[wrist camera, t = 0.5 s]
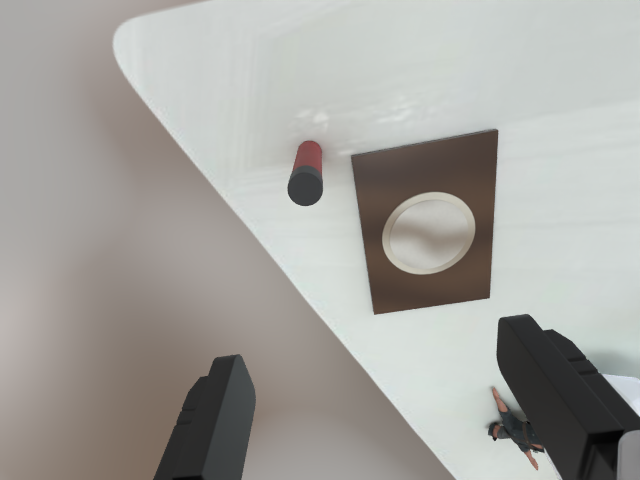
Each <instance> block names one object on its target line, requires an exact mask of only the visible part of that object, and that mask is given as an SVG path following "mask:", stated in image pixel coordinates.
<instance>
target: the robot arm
mask: <svg viewBox="0 0 640 480" xmlns="http://www.w3.org/2000/svg"><path fill="white" fill-rule="evenodd" d="M497 362H498V366H499V369H500V371H501V374H502V376H503V378H504V379H505V381H506V383H507V384H508V386H509V388H510V390H511V391H512V393H513V395H514V397H515V398H516V400H517V402H518V403H519V405H520V407H521V409H522V410H523V412H524V414H525V416H526V417H527V419H528V421H529V422H530V424H531V426H532V428H533V429H534V431H535V433H536V435H537V436H538V438H539V440H540V441H541V443H542V445H543V447H544V448H545V450H546V452H547V454H548V455H549V457H550V459H551V460H552V462H553V464H554V466H555V467H556V469H557V471H558V473H559V474H560V476H561V478H562V479H563V480H640V417H639V415H638V414H637V413H636V412H635V411H634V410H633V409H632V408H631V407H630V405H629V404H628V403H627V402H626V401H625V400H624V399H623V398H622V397H621V395H620V394H619V393H618V392H617V391H616V390H615V389H614V388H613V387H612V385H611V384H610V383H609V382H608V381H607V380H606V379H605V378H604V377H603V375H602V374H601V373H598V371H597V369H596V368H595V367H594V365H593V364H592V363H591V362H590V361H589V360H587V359H586V357H585V355H584V354H583V353H582V352H581V351H580V350H579V349H578V348H577V347H576V345H575V344H574V343H573V342H572V341H570V340H569V339H567V338H566V337H564V336H562V335H561V334H559V333H558V332H556V331H554V330H553V329H551V330H544V331H543V330H542V329H541V327H540V326H539V325H538V324H537V323H536V321H535V320H534V319H533V318H532V317H531V316H530V315H528V314H523V315H516V316H509V317H502V318H500V319H499V322H498V337H497ZM255 398H256V396H255V389H254V385H253V383H252V380H251V378H250V375H249V373H248V370H247V368H246V365H245V363H244V361H243V358H242V356H240V355H239V354H238V355H231V356H224V357H217V358H215V359H214V361H213V364H212V366H211V369H210V372H209V375H208V376H205V377H200V378H199V379H198V381H197V382H196V383H195V385H194V386H193V387H192V388H191V389H190V391H189V392H188V395H187V397H186V400H185V402H184V404H183V407H182V412H180V414H179V417H178V420H177V425H176V426H175V427H174V429H173V432H172V434H171V437H170V439H169V442H168V444H167V447H166V449H165V452H164V454H163V457H162V459H161V462H160V464H159V467H158V469H157V472H156V474H155V476H154V479H153V480H241V478H242V473H243V468H244V462H245V457H246V452H247V447H248V441H249V436H250V431H251V426H252V421H253V415H254V410H255V403H256V399H255Z"/></svg>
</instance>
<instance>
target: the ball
mask: <svg viewBox="0 0 640 480" xmlns="http://www.w3.org/2000/svg"><path fill="white" fill-rule="evenodd" d="M602 375H603V377H604V378H605V379H606V380H607V381H608V382H609V383H610V384H611V385H612V387H613V388H614V389H615V390H616V391H617V392H618V393H619V394H620V395H621V397H622V398H623V399H624V400H625V401H626V402H627V403H628V404H629V405H630V407H631V408H632V409H633V410H634V411H635V412H636V413H637V414H638V415H639V417H640V379H637V378H634V377H625V376H617V375H608V374H602ZM493 396H494V398H495V400H496V402H497V405H498V411H499V412H500V415H501V416H502V418H503V421H502V423H503V425H504V426H500V425H498V424H492V425H491V426H490V428H489V430H488V435H490V436H492V437H493V440H494V441H496V440H497V438H499V439H506V438H507V439H508V438H510V439H513V441H514V442H515V443H516V444H517V445H518V446H519V448H520V449H521V451H522V452H524V453H525V454H526V456H527V457H528V458H529V460H530V462H531V464H532V465H533V466H534V467H535V468H536V470H538V466H537V465H538V464H537V462H536V461H535V459H534V458H532V455H531V451H530V449H531V450H533V452H535V453H538V451H539V452H543V453H545V455H546V457H547V459H548V460H549V462H550V464H551V466H552V468H553V470H554V471H555V473H556V475H557V477H558V479H559V480H563V479H562V478H561V476H560V474H559V473H558V471H557V469H556V467H555V466H554V464H553V462H552V460H551V459H550V457H549V455H548V454H547V452H546V450H545V448H544V447H543V445H542V443H541V441H540V440H539V438H538V436H537V435H536V433H535V431H534V429H533V428H532V426H531V424H530V422H528V421H524V422H522V421H520V420H518V419H517V418H515V417H514V416H513V415H512V414H511V410H510V409H509V408H508V407H507V406H506V405H505V404H504V403H503V402H502V401H501V399H500V398H499V395H498V393H497V391H496V389H495V388H493ZM526 422H527V423H526Z"/></svg>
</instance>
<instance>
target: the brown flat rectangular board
mask: <svg viewBox="0 0 640 480" xmlns="http://www.w3.org/2000/svg"><path fill="white" fill-rule="evenodd" d="M497 145H498V130H497V129H493V130H488V131H482V132H477V133H471V134H466V135H461V136H455V137H450V138H444V139H439V140H433V141H428V142H423V143H417V144H412V145H406V146H401V147H396V148H390V149H385V150H379V151H374V152H368V153H363V154H358V155H352V156H351V159H352V165H353V172H354V179H355V186H356V193H357V200H358V207H359V214H360V221H361V228H362V235H363V241H364V248H365V255H366V262H367V269H368V276H369V283H370V290H371V297H372V304H373V311H374V315H376V314H383V313H390V312H397V311H404V310H411V309H418V308H425V307H432V306H439V305H445V304H452V303H459V302H466V301H473V300H480V299H487V298H490V281H491V261H492V242H493V223H494V203H495V184H496V165H497Z"/></svg>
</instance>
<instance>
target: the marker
mask: <svg viewBox="0 0 640 480" xmlns="http://www.w3.org/2000/svg"><path fill="white" fill-rule="evenodd" d="M322 192H323V180H322V151H321V148H320V146H319V145H318V144H317V143H316V142H313V141H306V142H303V143H302V144H301V145H300V146H299V148H298V151H297V155H296V159H295V163H294V167H293V171H292V174H291V176H290V179H289V183H288V194H289V197H290V198H291V200H292V201H293V202H295V203H296V204H298V205H301V206H310V205H313V204H315V203H316V202H317V201H318V200H319V199H320V198H321V196H322Z"/></svg>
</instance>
